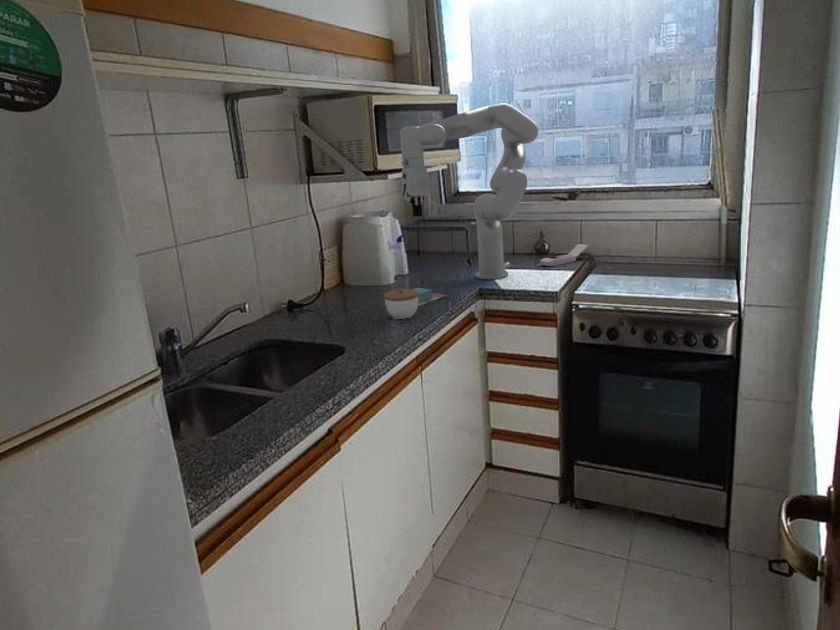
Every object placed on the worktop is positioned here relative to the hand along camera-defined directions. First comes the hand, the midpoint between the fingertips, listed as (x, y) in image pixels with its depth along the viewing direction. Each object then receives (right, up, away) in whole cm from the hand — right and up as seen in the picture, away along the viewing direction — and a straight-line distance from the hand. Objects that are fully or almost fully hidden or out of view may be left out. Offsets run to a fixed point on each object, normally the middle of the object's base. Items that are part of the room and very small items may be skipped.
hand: (417, 215), depth 218 cm
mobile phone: (+60, -14, +34) cm, 70 cm away
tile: (+3, -28, -6) cm, 28 cm away
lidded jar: (-4, -36, -25) cm, 44 cm away
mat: (+1, -30, -7) cm, 31 cm away
